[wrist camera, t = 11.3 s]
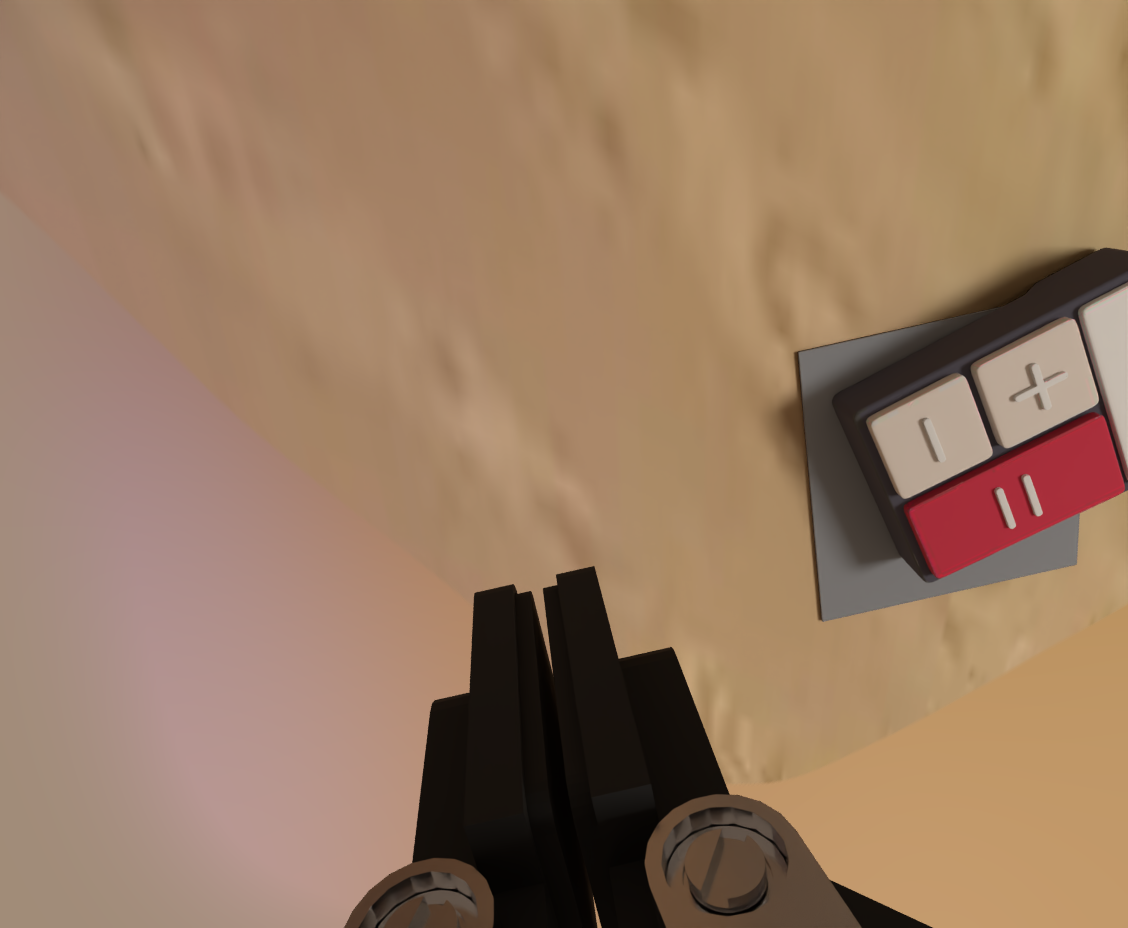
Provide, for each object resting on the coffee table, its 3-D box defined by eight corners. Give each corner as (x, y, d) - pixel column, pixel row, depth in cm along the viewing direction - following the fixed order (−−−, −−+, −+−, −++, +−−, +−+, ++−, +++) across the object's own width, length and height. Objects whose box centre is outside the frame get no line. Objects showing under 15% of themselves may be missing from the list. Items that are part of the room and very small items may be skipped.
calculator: (856, 420, 35) (1179, 253, 32) (823, 393, 39) (1108, 243, 36) (933, 595, 39) (1226, 457, 36) (895, 554, 43) (1157, 427, 40)
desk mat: (797, 351, 37) (798, 352, 37) (1090, 287, 38) (1092, 287, 37) (821, 620, 43) (822, 621, 43) (1074, 563, 43) (1076, 564, 43)
